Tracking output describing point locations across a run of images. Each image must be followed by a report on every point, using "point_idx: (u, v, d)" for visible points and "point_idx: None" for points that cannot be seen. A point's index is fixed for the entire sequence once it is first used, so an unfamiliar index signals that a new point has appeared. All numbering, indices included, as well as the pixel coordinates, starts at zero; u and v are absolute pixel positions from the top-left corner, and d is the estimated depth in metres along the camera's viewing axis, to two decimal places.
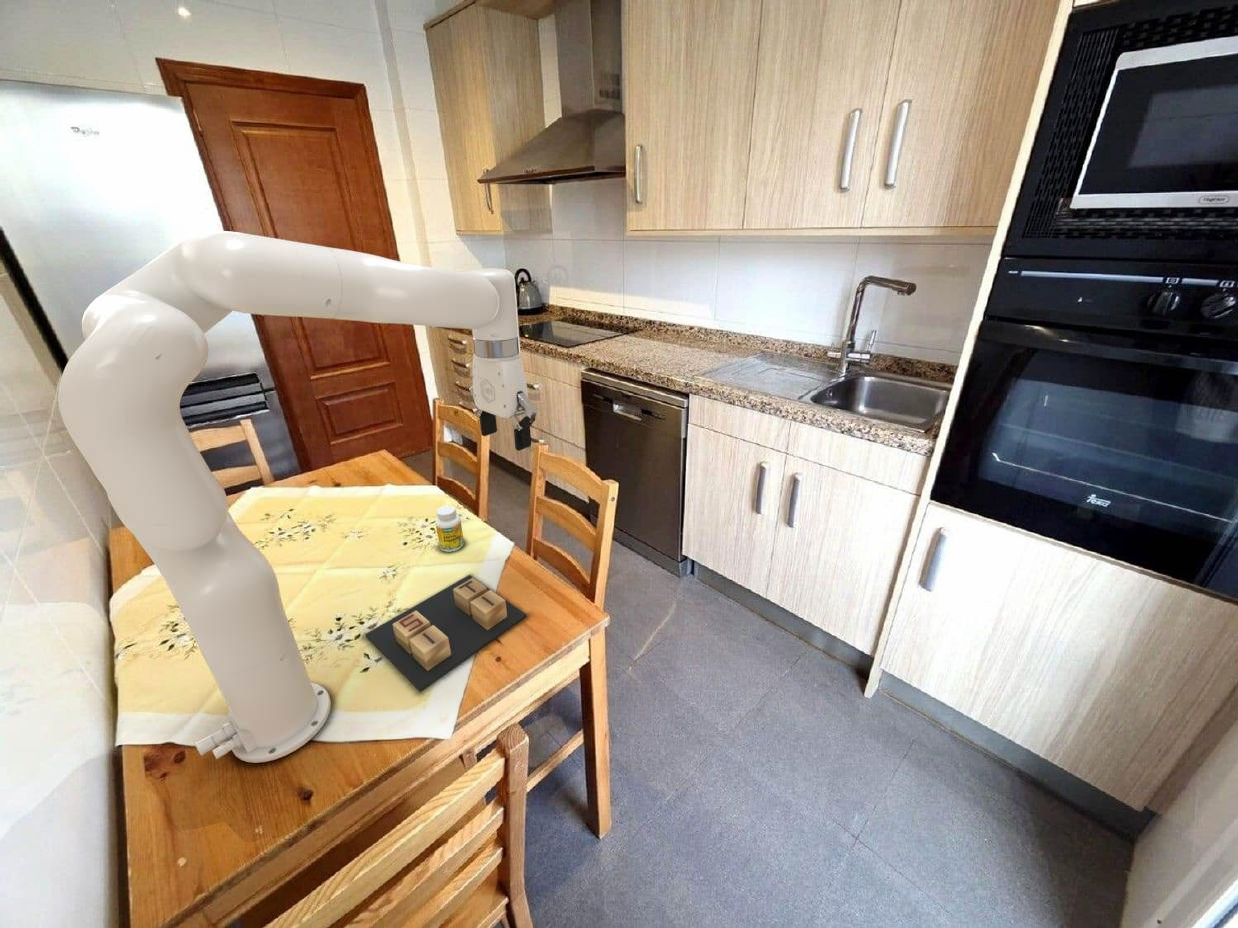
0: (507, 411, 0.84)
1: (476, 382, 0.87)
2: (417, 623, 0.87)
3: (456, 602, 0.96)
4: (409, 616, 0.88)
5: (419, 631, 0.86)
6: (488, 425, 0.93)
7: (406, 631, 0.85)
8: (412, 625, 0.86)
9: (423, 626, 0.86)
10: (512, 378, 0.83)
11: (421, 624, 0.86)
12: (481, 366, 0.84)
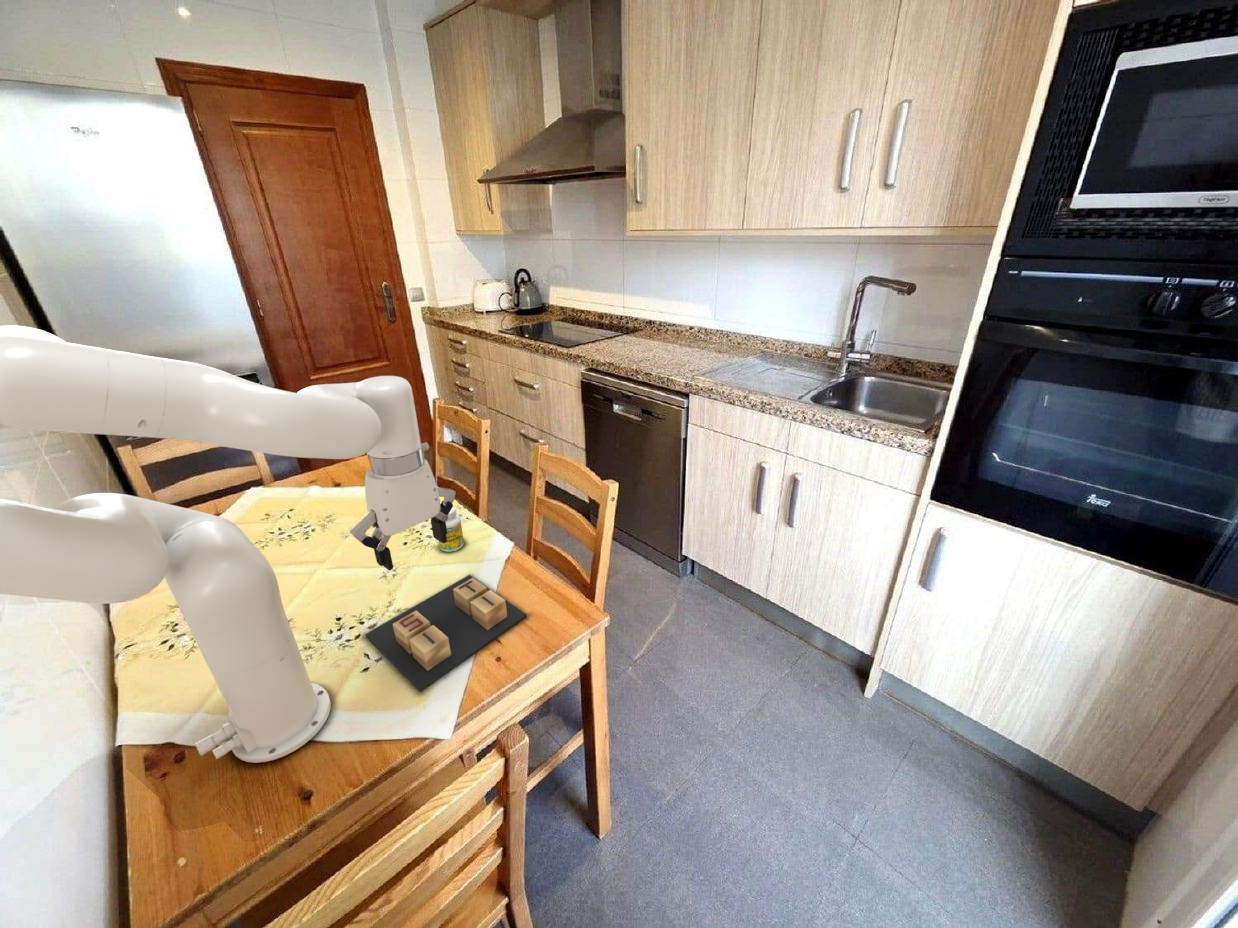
0: None
1: None
2: (417, 623, 0.87)
3: (456, 602, 0.96)
4: (409, 616, 0.88)
5: (419, 631, 0.86)
6: (435, 530, 0.85)
7: (406, 631, 0.85)
8: (412, 625, 0.86)
9: (423, 626, 0.86)
10: (366, 492, 0.75)
11: (421, 624, 0.86)
12: None
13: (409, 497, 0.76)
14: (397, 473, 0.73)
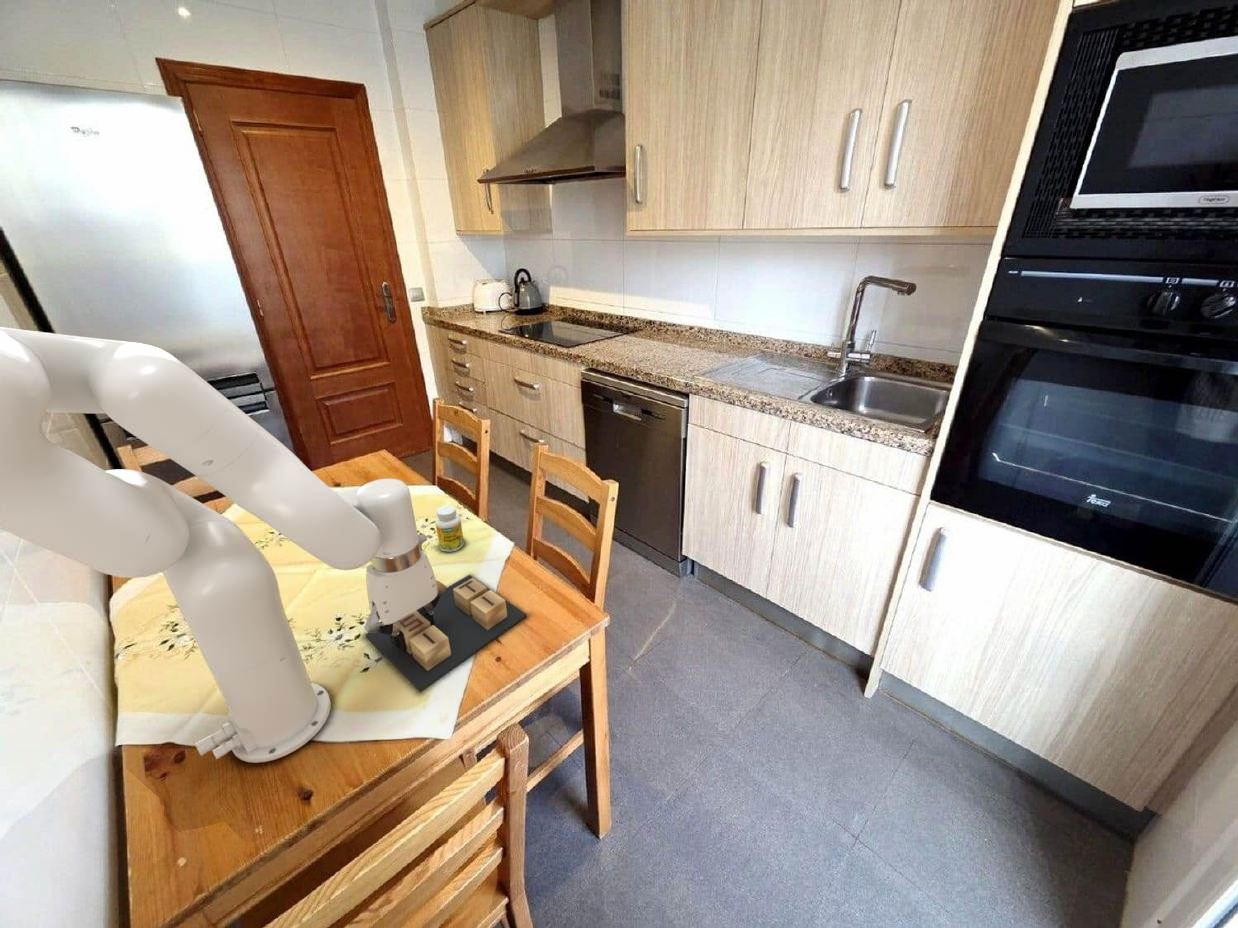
0: None
1: None
2: (417, 623, 0.87)
3: (456, 602, 0.96)
4: (409, 616, 0.88)
5: (419, 631, 0.86)
6: None
7: (406, 631, 0.85)
8: (412, 625, 0.86)
9: (423, 626, 0.86)
10: (367, 586, 0.79)
11: (421, 624, 0.86)
12: None
13: (407, 589, 0.81)
14: (396, 570, 0.77)
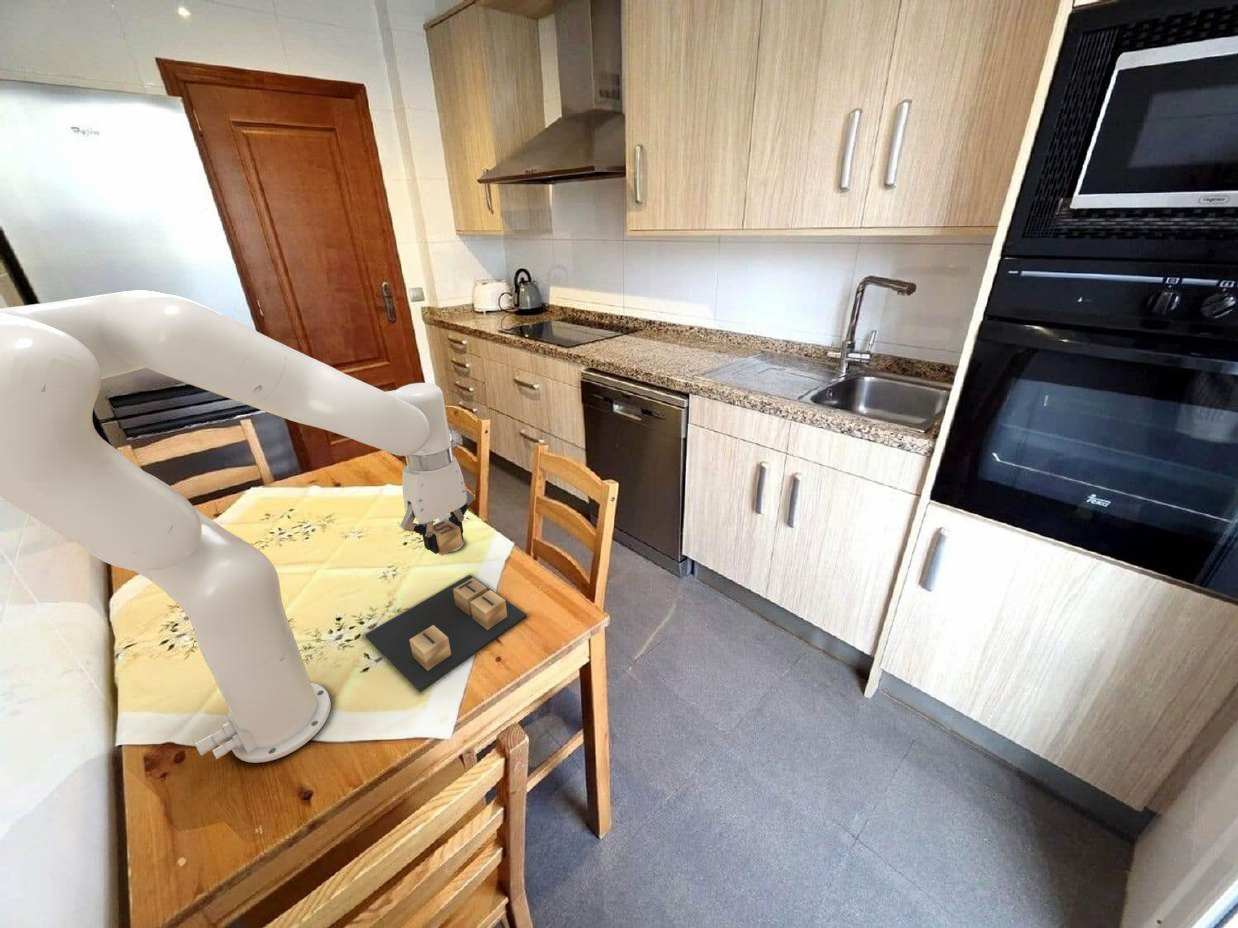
0: None
1: None
2: (448, 528, 0.92)
3: (456, 602, 0.96)
4: (440, 523, 0.93)
5: (450, 535, 0.91)
6: None
7: (439, 533, 0.90)
8: (443, 530, 0.92)
9: (454, 530, 0.92)
10: (403, 485, 0.85)
11: (452, 528, 0.92)
12: None
13: (440, 490, 0.86)
14: (431, 468, 0.83)
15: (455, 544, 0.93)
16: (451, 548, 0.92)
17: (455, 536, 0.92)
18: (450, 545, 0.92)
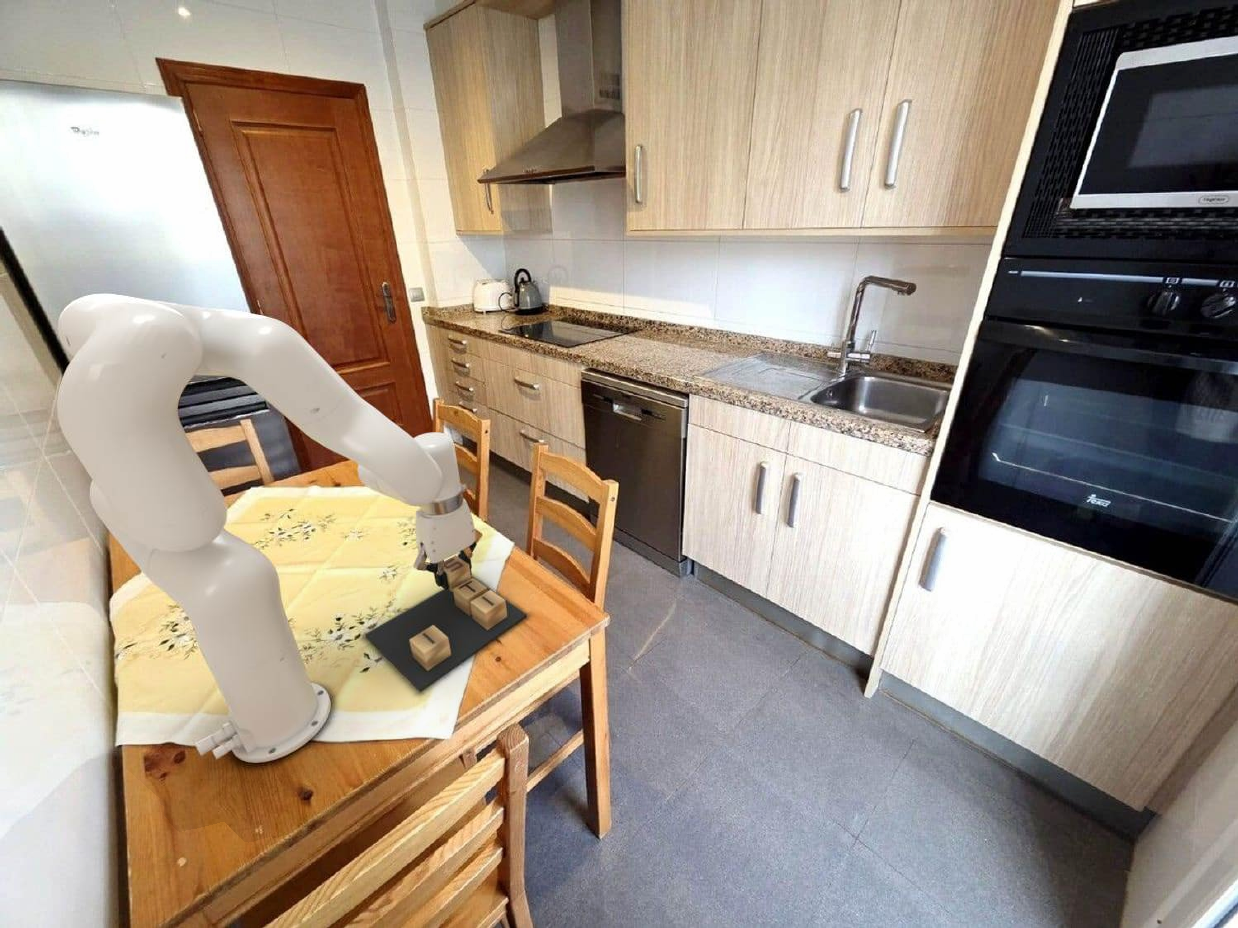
0: None
1: None
2: (458, 565, 0.97)
3: (456, 602, 0.96)
4: (450, 560, 0.98)
5: (460, 572, 0.96)
6: None
7: (449, 571, 0.95)
8: (453, 567, 0.97)
9: (463, 567, 0.97)
10: (416, 528, 0.90)
11: (462, 565, 0.97)
12: None
13: (451, 531, 0.91)
14: (442, 513, 0.88)
15: (464, 580, 0.98)
16: None
17: (464, 572, 0.97)
18: (459, 582, 0.97)
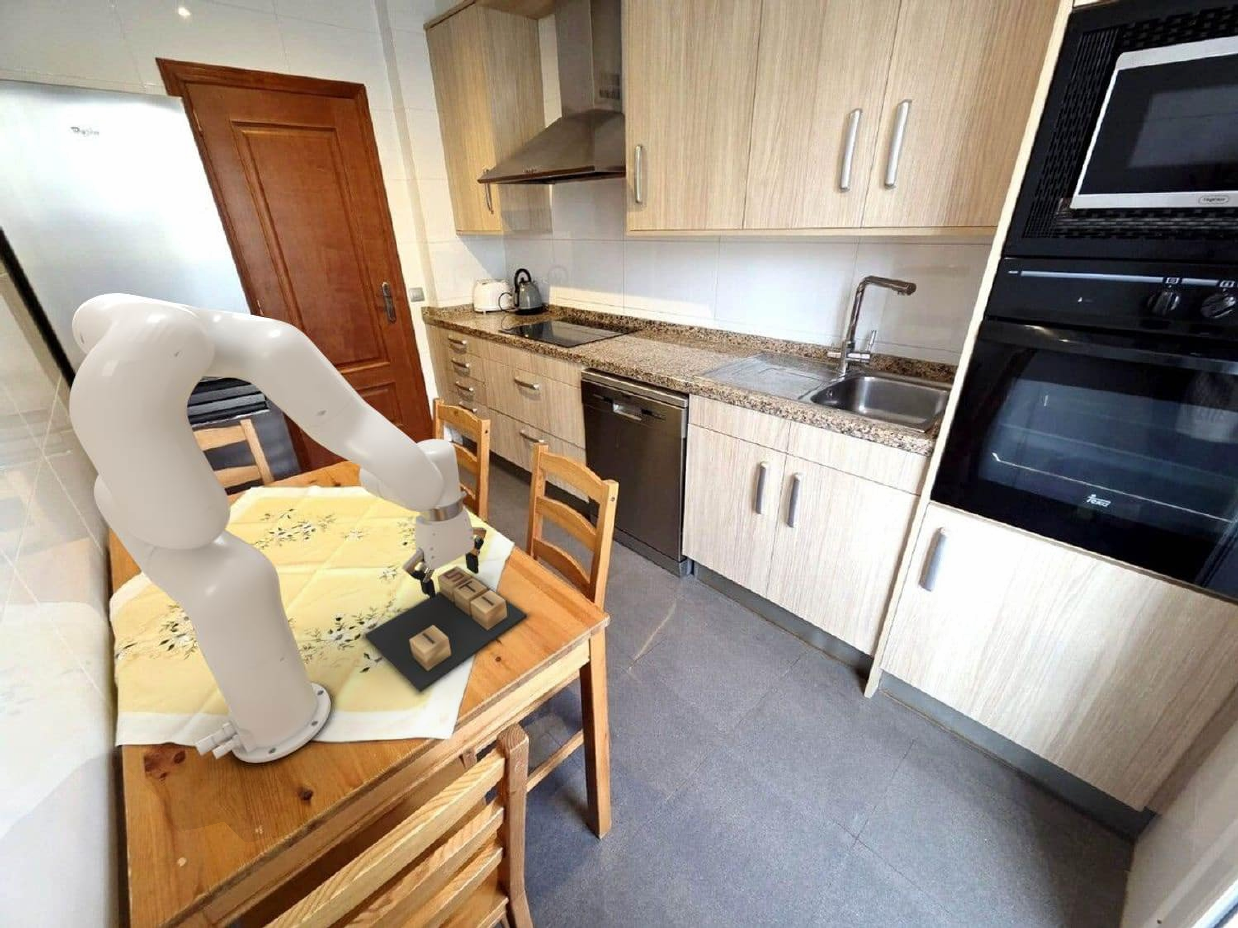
0: None
1: None
2: (459, 575, 0.98)
3: (456, 602, 0.96)
4: (451, 570, 1.00)
5: (461, 582, 0.97)
6: (469, 563, 1.01)
7: (450, 581, 0.96)
8: (455, 577, 0.98)
9: (465, 578, 0.98)
10: (416, 534, 0.90)
11: (463, 576, 0.98)
12: None
13: (450, 538, 0.92)
14: (442, 519, 0.88)
15: None
16: None
17: None
18: None
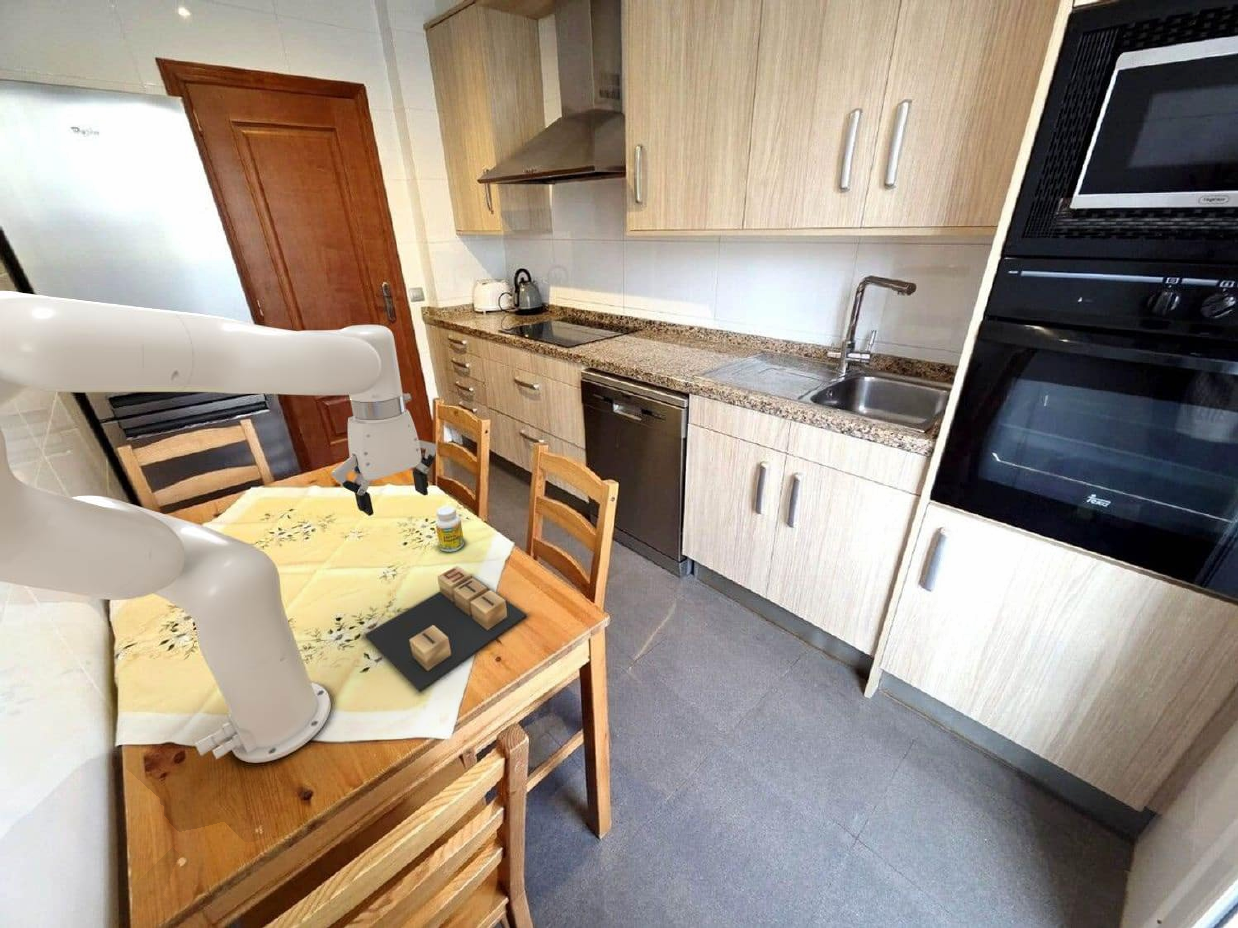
0: None
1: None
2: (459, 575, 0.98)
3: (456, 602, 0.96)
4: (451, 570, 1.00)
5: (461, 582, 0.97)
6: (417, 483, 0.88)
7: (450, 581, 0.96)
8: (455, 577, 0.98)
9: (465, 578, 0.98)
10: (348, 437, 0.78)
11: (463, 576, 0.98)
12: None
13: (389, 444, 0.79)
14: (377, 418, 0.76)
15: None
16: None
17: None
18: None
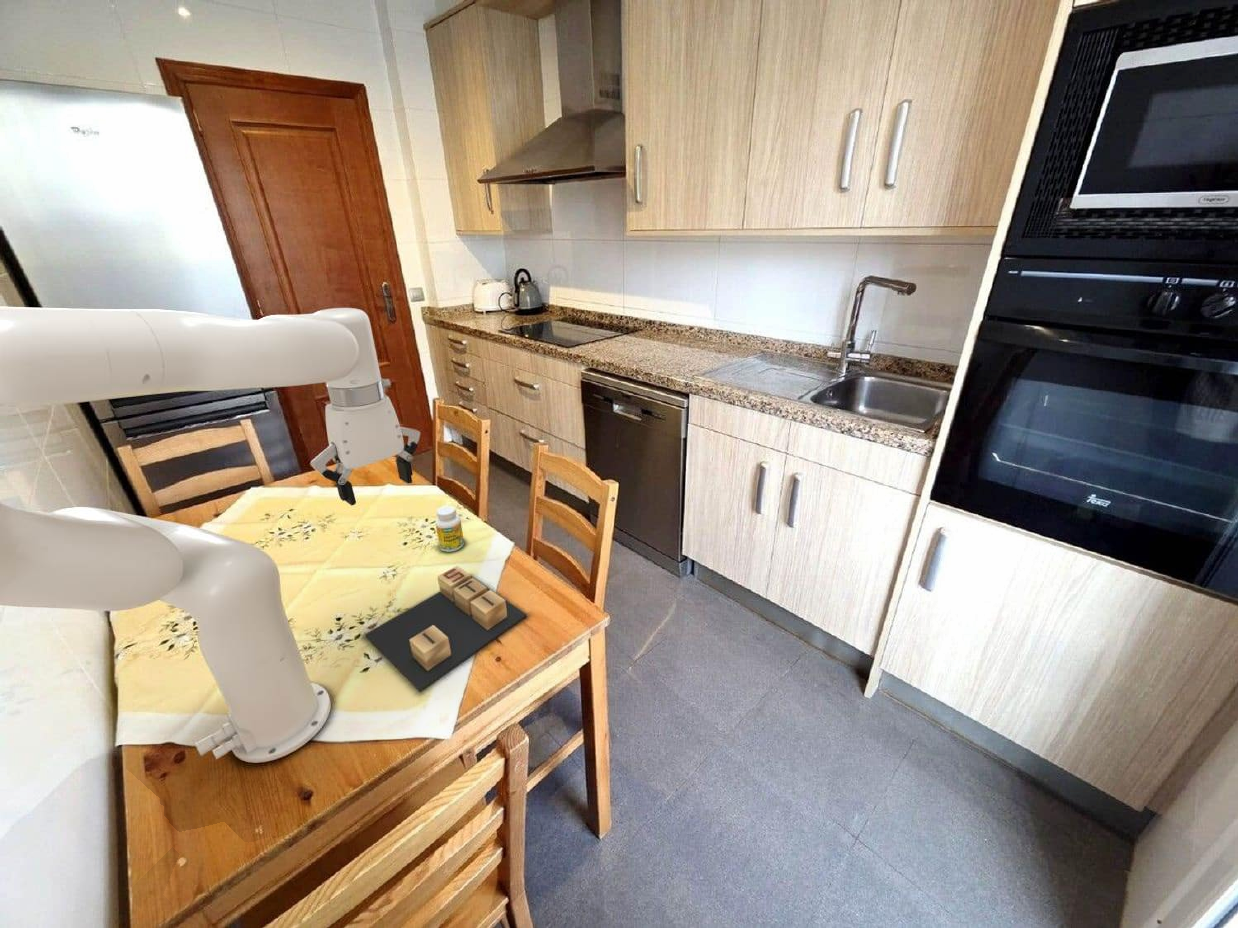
0: None
1: None
2: (459, 575, 0.98)
3: (456, 602, 0.96)
4: (451, 570, 1.00)
5: (461, 582, 0.97)
6: (400, 471, 0.86)
7: (450, 581, 0.96)
8: (455, 577, 0.98)
9: (465, 578, 0.98)
10: (327, 425, 0.76)
11: (463, 576, 0.98)
12: None
13: (370, 431, 0.77)
14: (356, 404, 0.74)
15: None
16: None
17: None
18: None
